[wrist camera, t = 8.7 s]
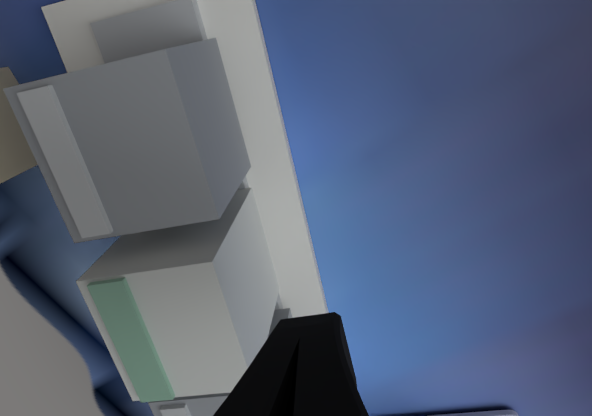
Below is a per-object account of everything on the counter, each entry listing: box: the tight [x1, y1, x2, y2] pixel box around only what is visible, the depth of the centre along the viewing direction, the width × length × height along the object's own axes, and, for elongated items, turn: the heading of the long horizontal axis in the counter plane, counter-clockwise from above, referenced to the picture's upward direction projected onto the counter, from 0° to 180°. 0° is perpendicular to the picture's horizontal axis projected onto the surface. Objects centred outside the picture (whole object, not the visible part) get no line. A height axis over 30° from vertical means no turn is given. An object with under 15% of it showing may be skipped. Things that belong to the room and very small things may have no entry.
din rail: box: [3, 0, 329, 416], centre depth 18 cm, size 22×8×6 cm, turn 13°
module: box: [76, 187, 280, 403], centre depth 17 cm, size 5×4×6 cm
